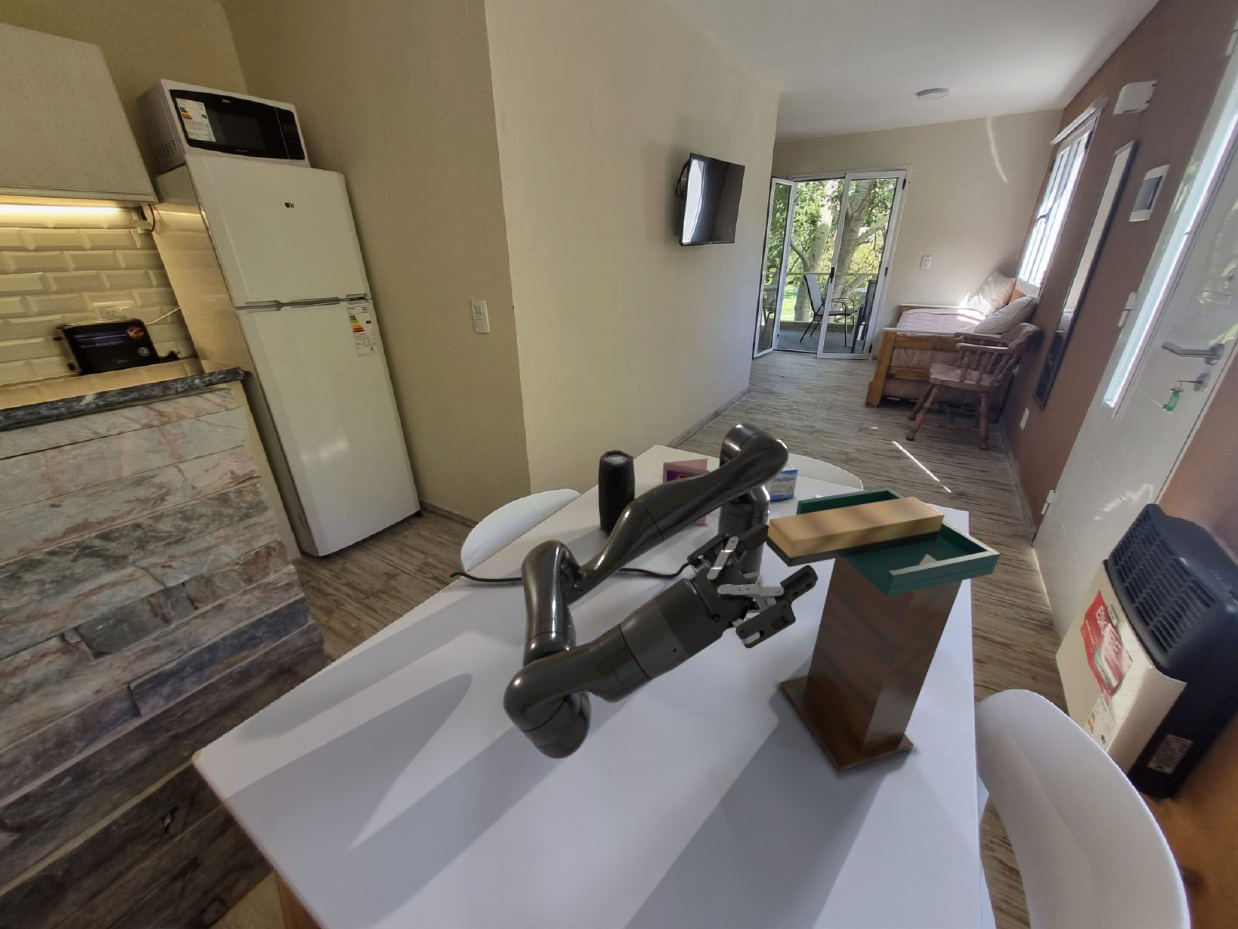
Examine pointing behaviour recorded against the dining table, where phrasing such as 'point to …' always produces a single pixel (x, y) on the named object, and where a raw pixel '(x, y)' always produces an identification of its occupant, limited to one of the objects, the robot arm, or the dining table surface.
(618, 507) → the portable speaker
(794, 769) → the dining table surface
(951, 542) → the tray
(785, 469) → the medicine box
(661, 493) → the robot arm
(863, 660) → the stand
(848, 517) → the eraser
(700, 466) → the greeting card
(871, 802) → the dining table surface
